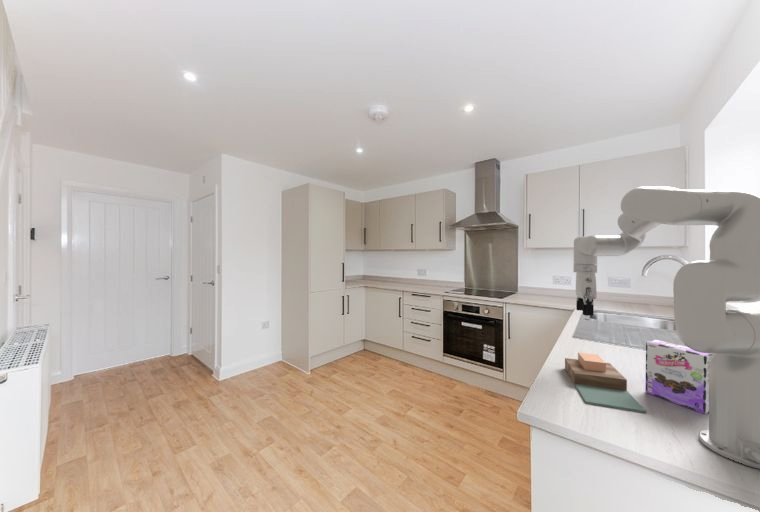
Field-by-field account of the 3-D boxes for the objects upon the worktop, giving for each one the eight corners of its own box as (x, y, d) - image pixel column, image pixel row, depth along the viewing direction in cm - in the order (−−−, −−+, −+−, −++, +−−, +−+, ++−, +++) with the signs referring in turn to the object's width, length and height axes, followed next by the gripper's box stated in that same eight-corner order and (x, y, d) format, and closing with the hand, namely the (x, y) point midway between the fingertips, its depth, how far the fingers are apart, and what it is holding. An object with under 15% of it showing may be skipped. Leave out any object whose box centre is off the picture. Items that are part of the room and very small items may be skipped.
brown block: (626, 392, 92) (626, 379, 92) (574, 384, 97) (574, 373, 97) (609, 374, 106) (609, 363, 106) (565, 368, 111) (565, 358, 111)
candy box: (644, 392, 92) (644, 340, 92) (655, 389, 94) (655, 338, 94) (705, 415, 79) (705, 354, 79) (716, 410, 81) (717, 352, 81)
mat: (646, 413, 80) (646, 410, 80) (585, 403, 85) (585, 401, 85) (627, 393, 91) (627, 391, 91) (575, 385, 97) (575, 383, 97)
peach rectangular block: (605, 371, 98) (605, 363, 98) (584, 369, 100) (584, 360, 100) (597, 362, 106) (597, 354, 106) (578, 360, 108) (578, 352, 108)
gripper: (604, 270, 103) (603, 318, 103) (590, 267, 119) (589, 309, 119) (579, 269, 106) (578, 316, 106) (568, 267, 122) (568, 307, 122)
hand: (584, 312), depth 112 cm, fingers open, 9 cm apart
